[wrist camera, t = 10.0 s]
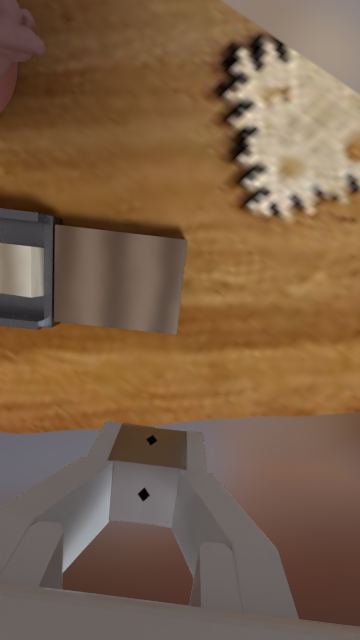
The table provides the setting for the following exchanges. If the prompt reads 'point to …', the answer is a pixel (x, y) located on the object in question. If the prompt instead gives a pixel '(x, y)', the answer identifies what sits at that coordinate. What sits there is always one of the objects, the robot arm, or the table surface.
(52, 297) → the box
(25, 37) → the balloon
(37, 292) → the block
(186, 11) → the table surface
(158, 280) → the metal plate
